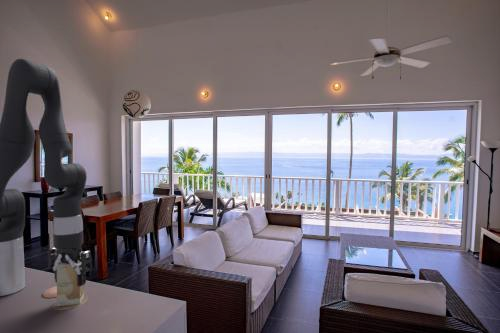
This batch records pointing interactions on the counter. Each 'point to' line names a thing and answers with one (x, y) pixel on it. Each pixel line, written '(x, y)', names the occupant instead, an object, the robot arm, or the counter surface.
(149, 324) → the counter surface
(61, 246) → the robot arm
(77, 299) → the skincare box
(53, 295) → the peach glossy dome
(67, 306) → the walnut coaster
